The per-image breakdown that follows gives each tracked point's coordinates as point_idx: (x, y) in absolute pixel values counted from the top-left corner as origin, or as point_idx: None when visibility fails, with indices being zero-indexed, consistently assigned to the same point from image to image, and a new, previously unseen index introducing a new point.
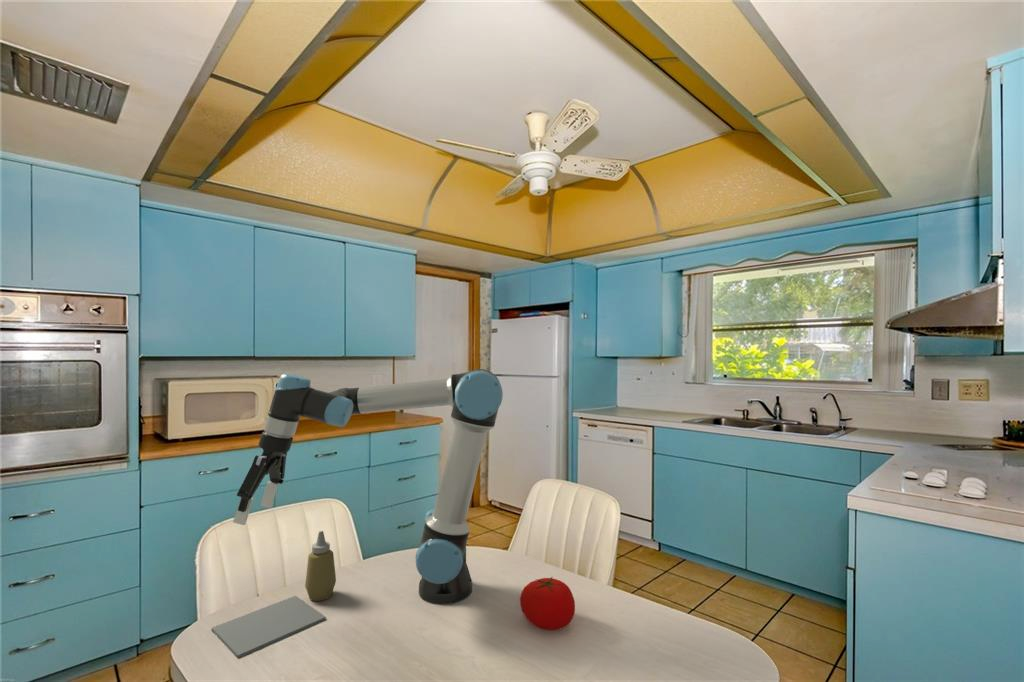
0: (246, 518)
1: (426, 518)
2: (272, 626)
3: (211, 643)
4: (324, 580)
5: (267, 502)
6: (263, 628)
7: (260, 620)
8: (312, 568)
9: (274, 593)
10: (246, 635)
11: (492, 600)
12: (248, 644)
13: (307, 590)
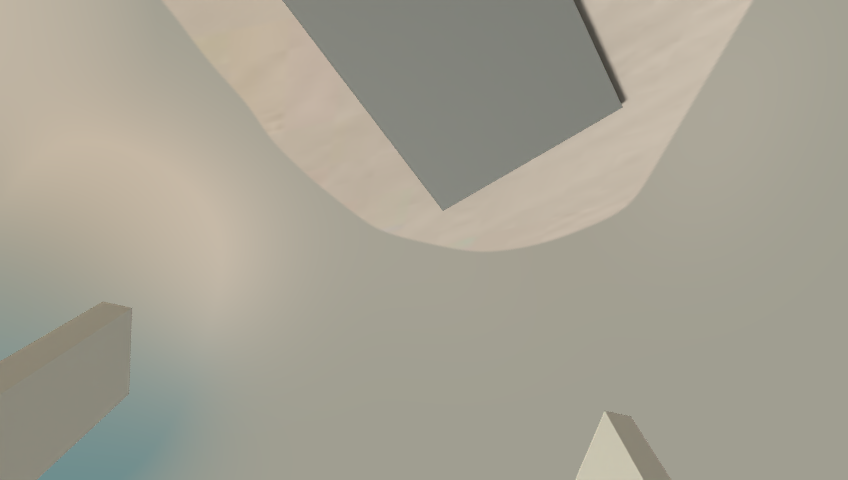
0: (648, 459)
1: None
2: (487, 35)
3: (510, 190)
4: None
5: (92, 372)
6: (492, 64)
7: (436, 86)
8: None
9: (242, 80)
10: (516, 108)
11: None
12: (573, 90)
13: None
